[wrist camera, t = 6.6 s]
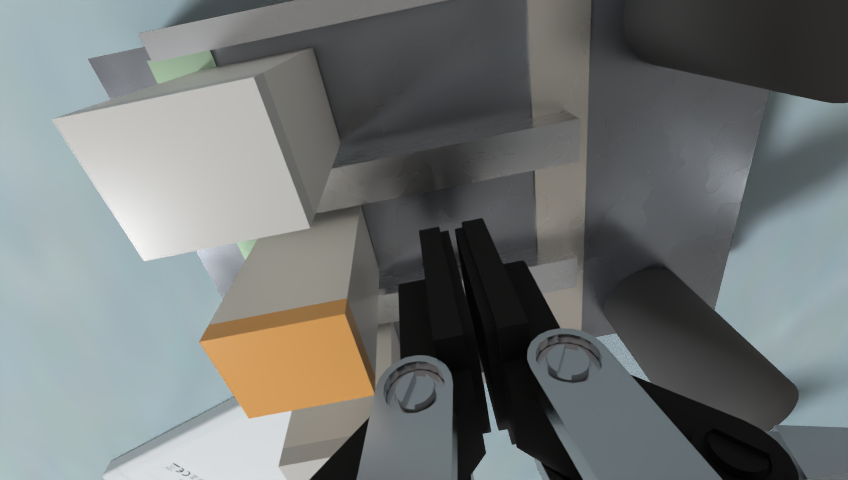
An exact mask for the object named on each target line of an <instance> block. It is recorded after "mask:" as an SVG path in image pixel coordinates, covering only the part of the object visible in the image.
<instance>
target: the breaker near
mask: <svg viewBox="0 0 848 480" xmlns="http://www.w3.org/2000/svg"><path fill="white" fill-rule="evenodd" d="M52 121H53V122H54V124H55V126H56V127H57V129H58V130H59V132H60V133H61V135H62V136H63V138H64V139H65V141H66V142H67V144H68V145H69V147H70V148H71V150H72V152H73V153H74V155H75V156H76V158H77V159H78V161H79V162H80V164H81V165H82V167H83V168H84V170H85V171H86V173H87V175H88V176H89V178H90V179H91V181H92V182H93V184H94V185H95V187H96V188H97V190H98V191H99V193H100V194H101V196H102V198H103V199H104V201H105V202H106V204H107V205H108V207H109V208H110V210H111V211H112V213H113V214H114V216H115V217H116V219H117V220H118V222H119V224H120V225H121V227H122V228H123V230H124V231H125V233H126V234H127V236H128V237H129V239H130V240H131V242H132V243H133V245H134V247H135V248H136V250H137V251H138V253H139V254H140V256H141V257H142V259H143V260H144V261H147V260H152V259H157V258H162V257H168V256H173V255H178V254H183V253H188V252H193V251H198V250H203V249H208V248H213V247H218V246H223V245H228V244H233V243H238V242H243V241H248V240H253V239H258V238H263V237H268V236H274V235H279V234H284V233H289V232H294V231H299V230H304V229H309V228H311V225H312V222H313V219H314V216H315V214H316V211H317V208H318V205H319V202H320V200H321V197H322V194H323V191H324V188H325V185H326V183H327V180H328V177H329V174H330V171H331V169H332V166H333V163H334V160H335V157H336V155H337V152H338V149H339V146H340V143H341V142H340V139H339V135H338V132H337V129H336V125H335V122H334V118H333V115H332V111H331V108H330V105H329V101H328V98H327V94H326V91H325V88H324V84H323V81H322V77H321V74H320V71H319V67H318V64H317V60H316V57H315V54H314V50H313V47H310V48H305V49H301V50H296V51H291V52H286V53H281V54H277V55H272V56H267V57H262V58H258V59H253V60H248V61H243V62H239V63H234V64H229V65H224V66H219V67H215V68H210V69H205V70H200V71H196V72H193V73H190V74H187V75H184V76H181V77H178V78H175V79H172V80H169V81H166V82H163V83H160V84H157V85H154V86H151V87H148V88H145V89H142V90H139V91H136V92H133V93H130V94H127V95H124V96H121V97H118V98H115V99H112V100H109V101H106V102H103V103H99V104H96V105H93V106H90V107H87V108H84V109H81V110H78V111H75V112H72V113H69V114H66V115H63V116H60V117H57V118H54V119H52Z"/></svg>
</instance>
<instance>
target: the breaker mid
mask: <svg viewBox="0 0 848 480" xmlns="http://www.w3.org/2000/svg"><path fill="white" fill-rule="evenodd" d="M378 295H379V267H378V264H377V260H376V257H375V253H374V250H373V246H372V243H371V240H370V236H369V233H368V229H367V226H366V222H365V219H364V216H363V212H362V209H361V205H358V206H353V207H348V208H343V209H338V210H333V211H328V212H323V213H318V214H315V216H314V219H313V222H312V225H311V228H309V229H304V230H299V231H294V232H289V233H284V234H279V235H274V236H268V237H263V238H258V239H257V241H256V243H255V244H254V246H253V248H252V250H251V252H250V253H249V255H248V257H247V259H246V260H245V262H244V264H243V266H242V267H241V269H240V271H239V273H238V274H237V276H236V278H235V280H234V282H233V283H232V285H231V287H230V289H229V290H228V292H227V294H226V296H225V297H224V299H223V301H222V303H221V304H220V306H219V308H218V310H217V311H216V313H215V315H214V317H213V319H212V320H211V322H210V324H209V326H208V327H207V329H206V331H205V333H204V334H203V336H202V338H201V340H200V341H199V342H200V344H201V346H202V347H203V349H204V350H205V352H206V353H207V355H208V356H209V358H210V359H211V361H212V362H213V364H214V366H215V367H216V369H217V370H218V372H219V373H220V375H221V376H222V378H223V379H224V381H225V383H226V384H227V386H228V387H229V389H230V390H231V392H232V393H233V395H234V396H235V398H236V399H237V401H238V403H239V404H240V406H241V407H242V409H243V410H244V412H245V413H246V415H247V416H248V418H249V419H250V418H255V417H261V416H266V415H271V414H277V413H282V412H287V411H293V410H298V409H303V408H309V407H314V406H320V405H325V404H330V403H336V402H341V401H346V400H352V399H357V398H362V397H368V396H373V395H374V394H375V380H376V352H377V324H378Z"/></svg>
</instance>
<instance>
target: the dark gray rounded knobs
mask: <svg viewBox="0 0 848 480" xmlns="http://www.w3.org/2000/svg"><path fill="white" fill-rule="evenodd" d="M623 26H624V33H625V37H626V40H627V42H628V45H629V46H630V48H631V50H632V51H633V52H634V54H635V55H636V56H637V57H639V58H640V59H641V60H643V61H645V62H646V63H649V64H652V65H656V66H660V67H665V68H670V69H674V70H679V71H684V72H688V73H693V74H698V75H702V76H707V77H712V78H716V79H721V80H726V81H730V82H735V83H739V84H744V85H749V86H753V87H758V88H763V89H767V90H772V91H777V92H781V93H786V94H791V95H795V96H800V97H804V98H809V99H814V100H818V101H823V102H829V103H847V102H848V0H626V2H625V6H624V14H623ZM604 314H605V317H606V319H607V320H608V322H609V323H610V325H611V326H612V327H613V329H614V330H615V332H616V333H617V335H618V336H619V337H620V339H621V340H622V342H623V343H624V345H625V346H626V347H627V349H628V350H629V352H630V353H631V355H632V356H633V357H634V359H635V360H636V362H637V363H638V365H639V366H640V367H641V369H642V370H643V372H644V373H645V375H646V376H647V377H648V379H649V380H650V382H651V383H652V384H655V385H657V386H660V387H662V388H665V389H667V390H670V391H672V392H675V393H677V394H680V395H682V396H685V397H687V398H690V399H692V400H695V401H697V402H700V403H702V404H705V405H707V406H710V407H712V408H715V409H717V410H720V411H722V412H725V413H727V414H730V415H732V416H735V417H737V418H740V419H742V420H744V421H746V422H748V423H750V424H752V425H754V426H756V427H758V428H760V429H762V430H763V431H770V430H772V429H773V427H774V425H779V424H780V423H781V422H782V421H783V420H785V419H786V418H787V417H788V415H789V414H790V413H791V412H792V410H793V409H794V407H795V406H796V403H797V401H798V390H797V388H796V386H795V385H794V384H793V383H792V382H791V381H790V380H789V379H788V378H787V377H786V376H784V375H783V374H782V373H781V372H780V371H779V370H778V369H777V368H776V367H775V366H774V365H773V364H772V363H770V362H769V361H768V360H767V359H766V358H765V357H764V356H763V355H762V354H761V353H760V352H759V351H758V350H756V349H755V348H754V347H753V346H752V345H751V344H750V343H749V342H748V341H747V340H746V339H745V338H744V337H742V336H741V335H740V334H739V333H738V332H737V331H736V330H735V329H734V328H733V327H732V326H731V325H730V324H728V323H727V322H726V321H725V320H724V319H723V318H722V317H721V316H720V315H719V314H718V313H717V312H716V311H714V310H713V309H712V308H711V307H710V306H709V305H708V304H707V303H706V302H705V301H704V300H703V299H702V298H700V297H699V296H698V295H697V294H696V293H695V292H694V291H693V290H692V289H691V288H690V287H689V286H688V285H686V284H685V283H684V282H683V281H682V280H681V279H680V278H679V277H678V276H677V275H676V274H674V273H673V272H671V271H669V270H667V269H662V268H650V269H644V270H641V271H638V272H635V273H633V274H631V275H629V276H627V277H625V278H624V279H623V280H621V281H620V282H619V283H618V284H616V286H615V287H614V288H613V289H612V290H611V291H610V293H609V294H608V296H607V298H606V301H605V304H604Z"/></svg>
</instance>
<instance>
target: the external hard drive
mask: <svg viewBox="0 0 848 480" xmlns="http://www.w3.org/2000/svg"><path fill="white" fill-rule="evenodd" d="M291 412H292V411H287V412H282V413H277V414H271V415H266V416H261V417H255V418H250V419H249V418H248V416H247V415H246V413H245V412H244V410H243V409H242V407H241V406H240V404H239V403H238V401H237V399H236V398H235V397H233V398H231V399H229V400H227V401H225V402H223V403H221V404H219V405H217V406H215V407H214V408H212V409H210V410H208V411H206V412H204V413H202V414H200V415H198V416H196V417H194V418H192V419H191V420H189V421H187V422H185V423H183V424H181V425H179V426H177V427H175V428H173V429H171V430H170V431H168V432H166V433H164V434H162V435H160V436H158V437H156V438H154V439H152V440H150V441H148V442H147V443H145V444H143V445H141V446H139V447H137V448H135V449H133V450H131V451H129V452H128V453H126V454H124V455H122V456H120V457H118V458H116V459H114V460H112V461H111V462H110V463H109V465H108V467H107V468H106V470H105V472H104V473H103V475H102V476H103V478H104V479H105V480H287V479H286V478H285V476H284V475H283V473H282V472H281V470H280V469H279V467H278V466H279V462H280V458H281V453H282V449H283V445H284V441H285V437H286V433H287V429H288V424H289V420H290V416H291Z"/></svg>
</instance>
